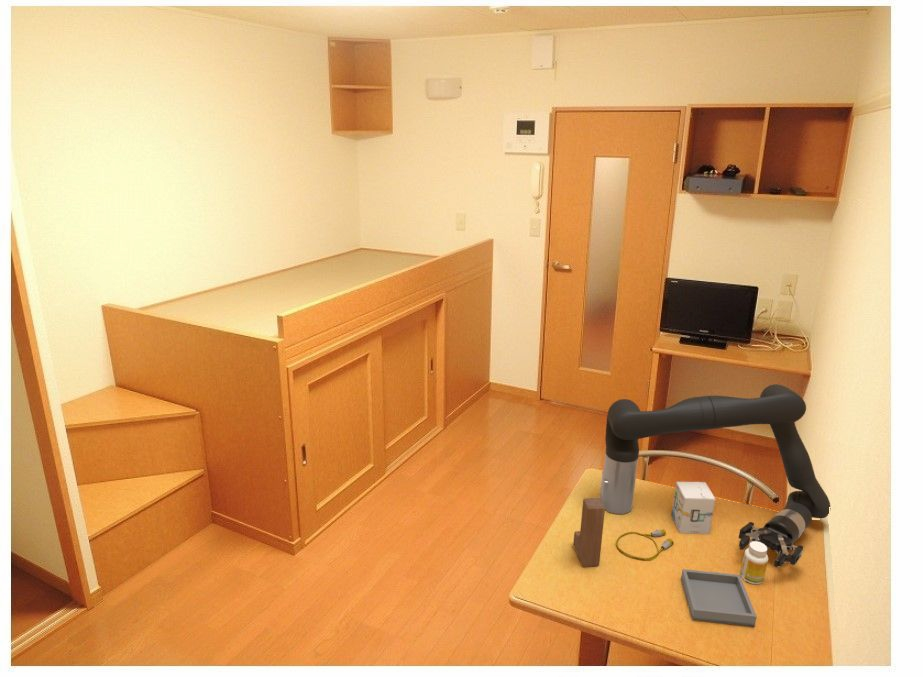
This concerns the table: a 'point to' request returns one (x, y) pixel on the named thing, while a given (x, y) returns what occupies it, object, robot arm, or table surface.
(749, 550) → the supplement bottle
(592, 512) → the wooden block
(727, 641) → the table surface
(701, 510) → the ink box
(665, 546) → the extension cord
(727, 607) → the tray
